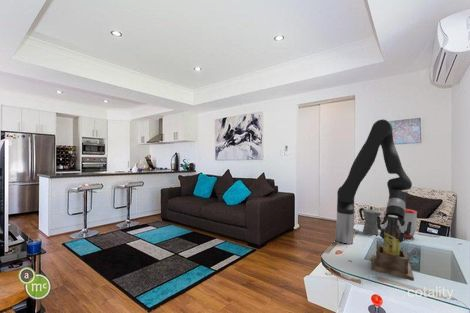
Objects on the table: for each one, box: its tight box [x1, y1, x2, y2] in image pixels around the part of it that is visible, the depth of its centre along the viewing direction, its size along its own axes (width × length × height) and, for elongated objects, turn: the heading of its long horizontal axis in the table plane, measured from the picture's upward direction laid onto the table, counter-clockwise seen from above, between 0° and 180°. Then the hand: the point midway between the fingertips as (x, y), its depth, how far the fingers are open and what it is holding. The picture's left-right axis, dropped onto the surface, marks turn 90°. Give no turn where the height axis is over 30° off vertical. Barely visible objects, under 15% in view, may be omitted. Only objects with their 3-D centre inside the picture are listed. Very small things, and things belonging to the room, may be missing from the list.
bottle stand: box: [371, 244, 415, 281], centre depth 105 cm, size 15×16×7 cm
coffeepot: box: [358, 206, 382, 236], centre depth 155 cm, size 15×9×18 cm, turn 25°
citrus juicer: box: [402, 207, 418, 239], centre depth 152 cm, size 16×17×20 cm
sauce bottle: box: [382, 215, 401, 257], centre depth 106 cm, size 6×6×20 cm
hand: (391, 239), depth 104 cm, fingers closed on sauce bottle, 6 cm apart
